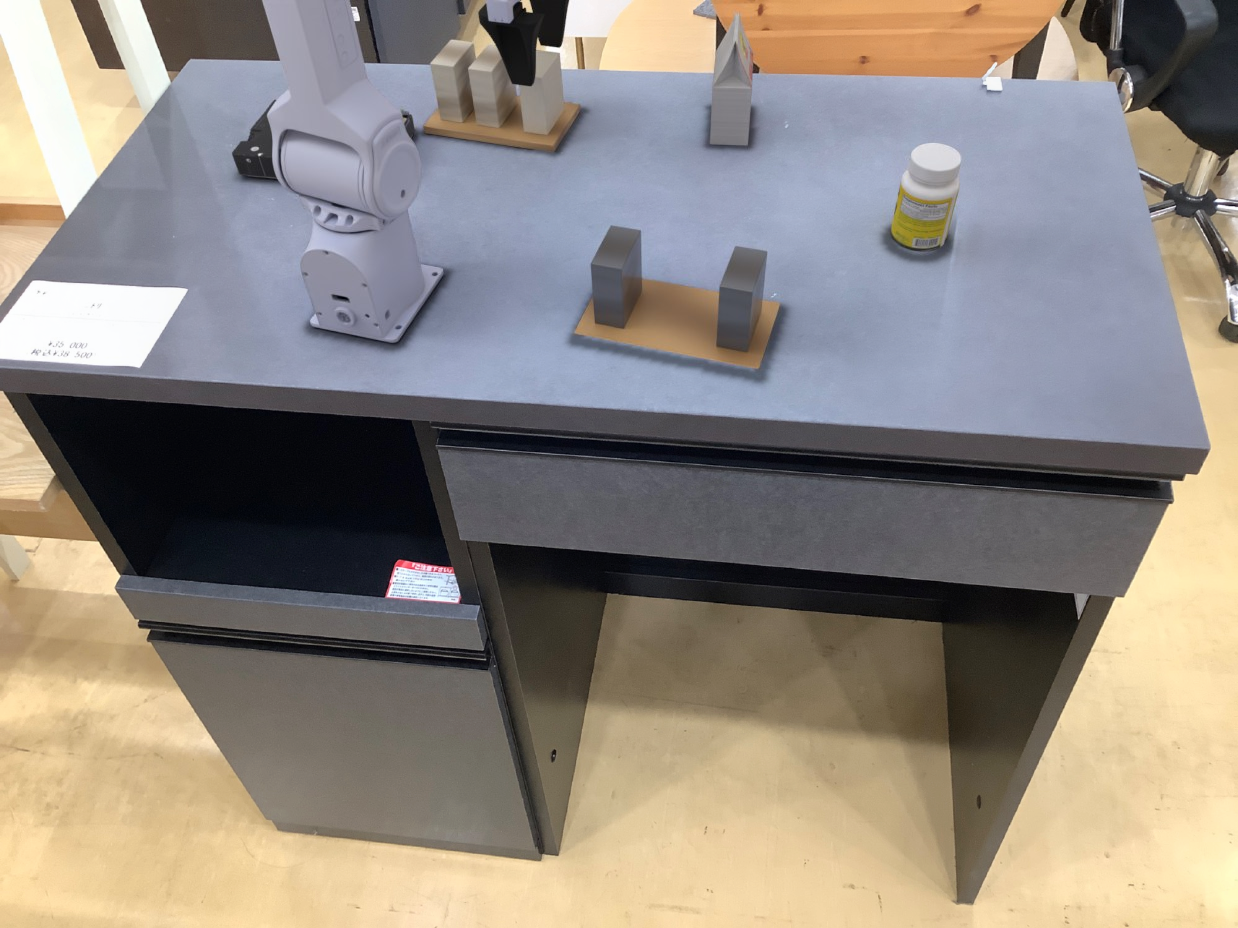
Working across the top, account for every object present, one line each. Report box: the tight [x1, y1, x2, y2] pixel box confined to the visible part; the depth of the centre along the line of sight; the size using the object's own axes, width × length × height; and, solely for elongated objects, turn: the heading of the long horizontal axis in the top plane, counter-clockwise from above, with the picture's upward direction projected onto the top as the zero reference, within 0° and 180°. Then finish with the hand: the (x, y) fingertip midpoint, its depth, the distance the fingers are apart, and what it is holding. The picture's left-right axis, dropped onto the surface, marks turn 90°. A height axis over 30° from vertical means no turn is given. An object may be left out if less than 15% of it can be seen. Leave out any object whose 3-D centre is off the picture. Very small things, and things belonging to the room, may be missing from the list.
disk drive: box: [231, 99, 416, 179], centre depth 97 cm, size 10×3×15 cm
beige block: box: [518, 49, 565, 135], centre depth 97 cm, size 5×2×6 cm, turn 162°
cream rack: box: [422, 39, 581, 153], centre depth 98 cm, size 8×14×7 cm, turn 72°
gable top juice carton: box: [709, 11, 754, 146], centre depth 95 cm, size 4×7×10 cm, turn 174°
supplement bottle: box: [890, 142, 962, 252], centre depth 82 cm, size 5×5×8 cm
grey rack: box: [573, 224, 781, 370], centre depth 77 cm, size 8×15×7 cm, turn 72°
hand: (537, 64), depth 94 cm, fingers open, 7 cm apart
